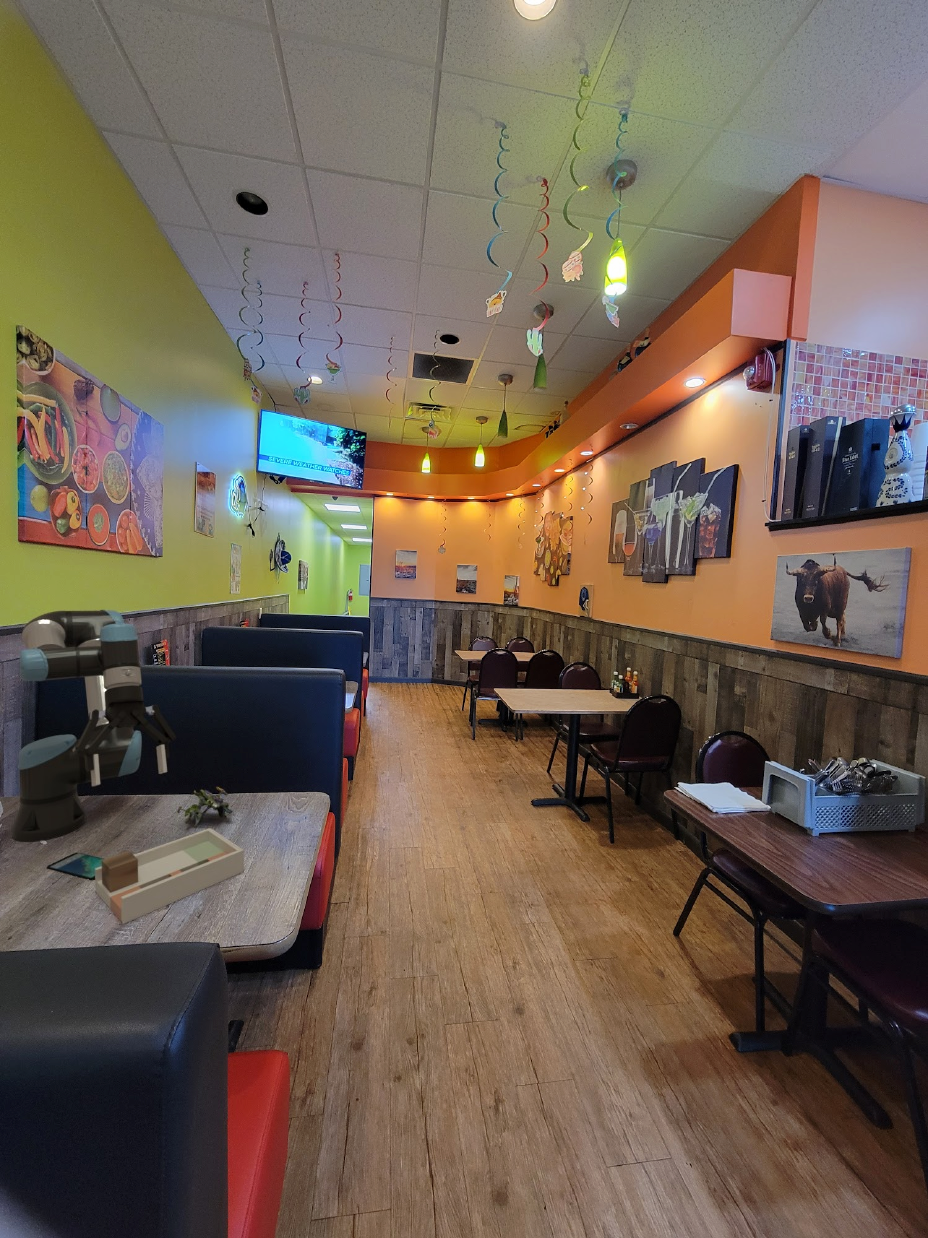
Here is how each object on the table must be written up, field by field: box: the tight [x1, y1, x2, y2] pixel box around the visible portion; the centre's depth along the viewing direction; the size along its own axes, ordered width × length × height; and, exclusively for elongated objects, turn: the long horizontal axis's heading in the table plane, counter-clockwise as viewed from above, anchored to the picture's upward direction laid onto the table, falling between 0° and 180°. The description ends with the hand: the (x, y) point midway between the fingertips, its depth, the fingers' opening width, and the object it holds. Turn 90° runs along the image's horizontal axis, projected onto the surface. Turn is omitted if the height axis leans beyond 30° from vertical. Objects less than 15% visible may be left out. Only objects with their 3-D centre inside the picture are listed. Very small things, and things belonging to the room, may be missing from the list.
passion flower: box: [177, 786, 233, 829], centre depth 140 cm, size 11×11×12 cm
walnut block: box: [102, 850, 138, 893], centre depth 107 cm, size 5×5×5 cm
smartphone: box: [45, 852, 105, 881], centre depth 118 cm, size 7×1×15 cm
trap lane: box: [94, 827, 245, 925], centre depth 113 cm, size 16×24×5 cm, turn 141°
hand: (131, 779), depth 118 cm, fingers open, 13 cm apart
